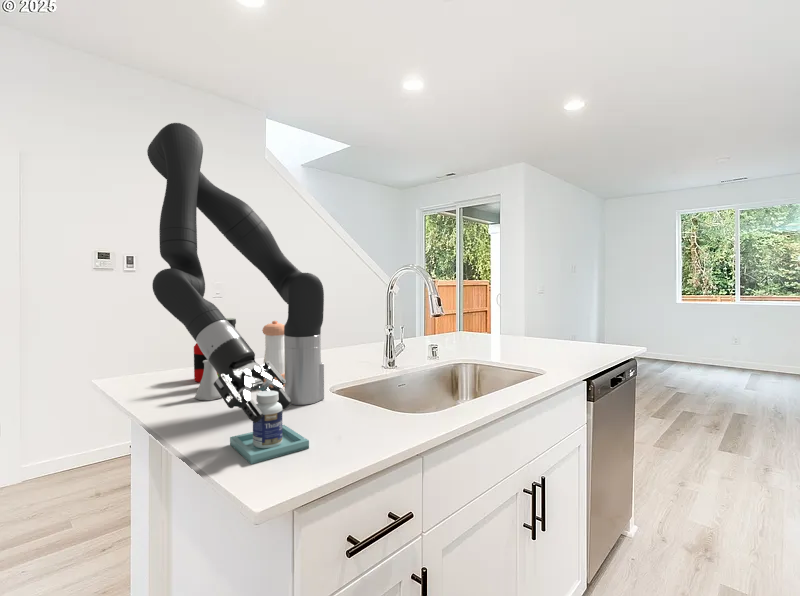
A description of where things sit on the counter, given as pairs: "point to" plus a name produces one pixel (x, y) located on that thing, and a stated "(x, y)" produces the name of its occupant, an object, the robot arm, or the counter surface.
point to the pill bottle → (268, 421)
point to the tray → (253, 454)
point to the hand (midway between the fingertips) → (274, 412)
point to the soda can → (198, 363)
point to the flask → (208, 384)
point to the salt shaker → (275, 347)
